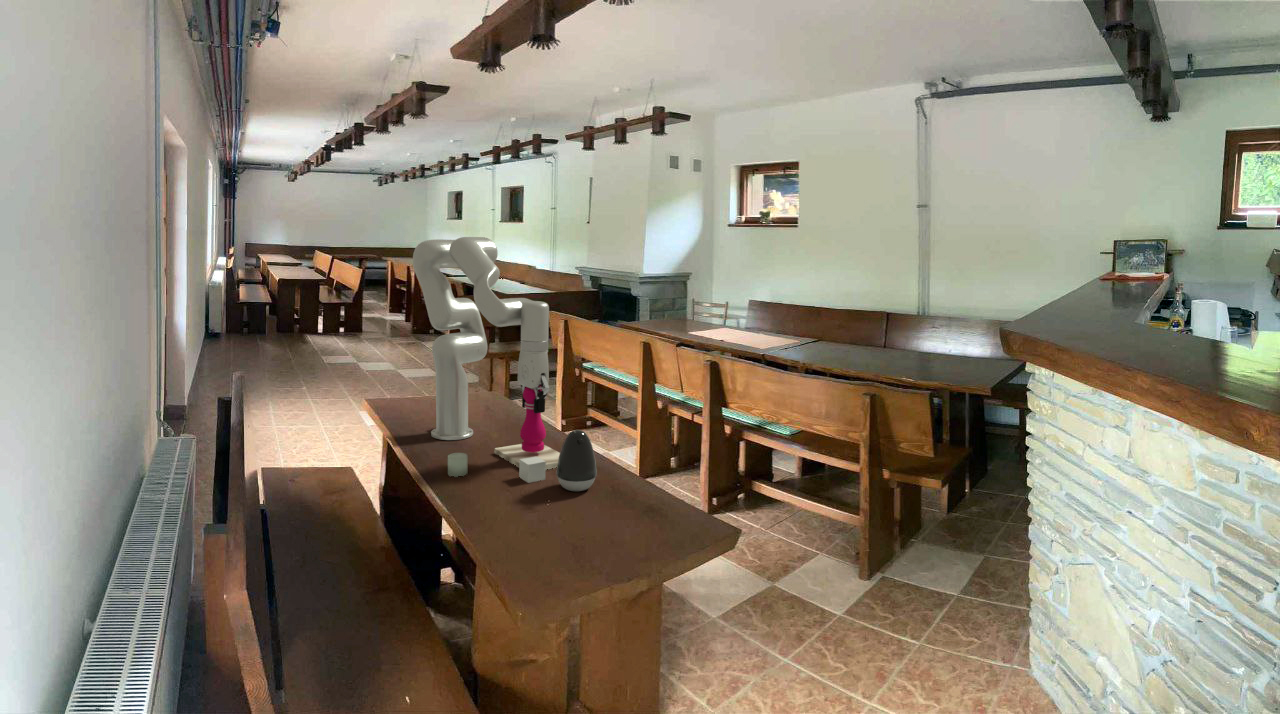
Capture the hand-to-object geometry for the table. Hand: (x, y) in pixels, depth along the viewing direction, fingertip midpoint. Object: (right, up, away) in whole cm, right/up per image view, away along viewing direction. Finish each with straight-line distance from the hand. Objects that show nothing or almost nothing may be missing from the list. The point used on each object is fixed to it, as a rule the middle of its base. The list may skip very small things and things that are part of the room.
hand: (533, 409), depth 207 cm
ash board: (0, -14, +2) cm, 14 cm away
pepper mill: (0, -12, +2) cm, 12 cm away
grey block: (+2, -17, -13) cm, 22 cm away
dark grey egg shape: (+14, -19, -19) cm, 30 cm away
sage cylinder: (-18, -16, -12) cm, 27 cm away
